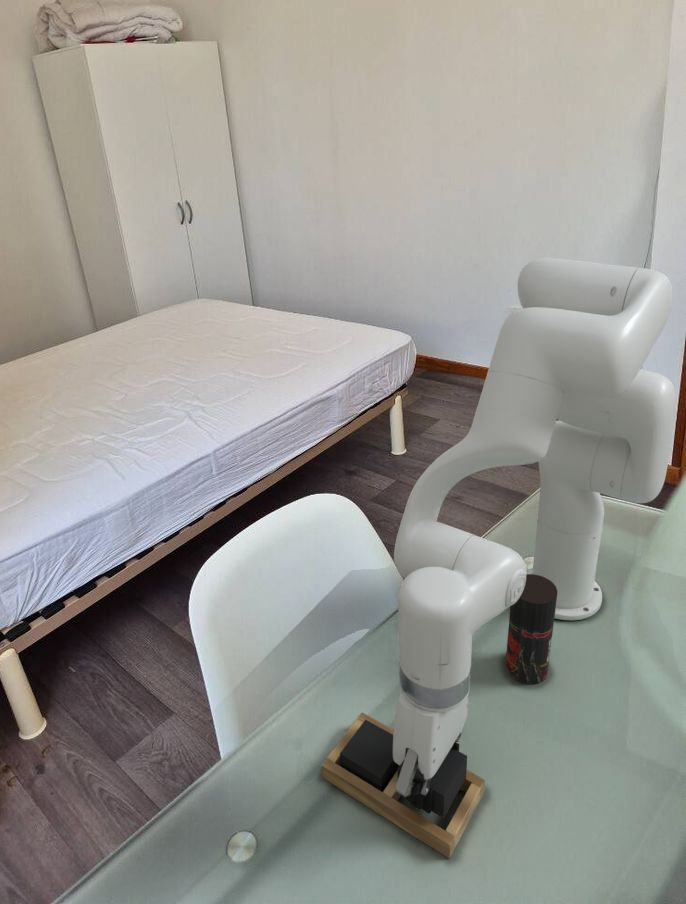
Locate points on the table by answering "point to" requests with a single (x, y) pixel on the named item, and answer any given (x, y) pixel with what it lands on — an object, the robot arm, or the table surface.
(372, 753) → the pad seated
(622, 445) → the robot arm
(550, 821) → the table surface
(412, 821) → the frame
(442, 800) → the pad loose
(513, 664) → the deodorant
